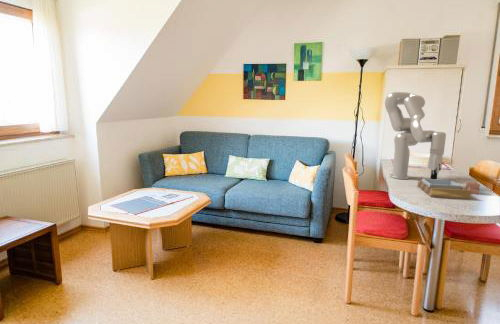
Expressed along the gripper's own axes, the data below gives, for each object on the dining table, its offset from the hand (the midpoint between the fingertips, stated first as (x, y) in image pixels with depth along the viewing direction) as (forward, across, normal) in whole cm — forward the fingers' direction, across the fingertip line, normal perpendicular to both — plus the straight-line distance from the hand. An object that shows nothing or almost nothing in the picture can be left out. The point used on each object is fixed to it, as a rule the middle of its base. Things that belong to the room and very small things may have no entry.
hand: (433, 180), depth 205 cm
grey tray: (+2, +12, 0) cm, 12 cm away
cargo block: (+4, +12, +17) cm, 21 cm away
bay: (+4, +14, 0) cm, 15 cm away
